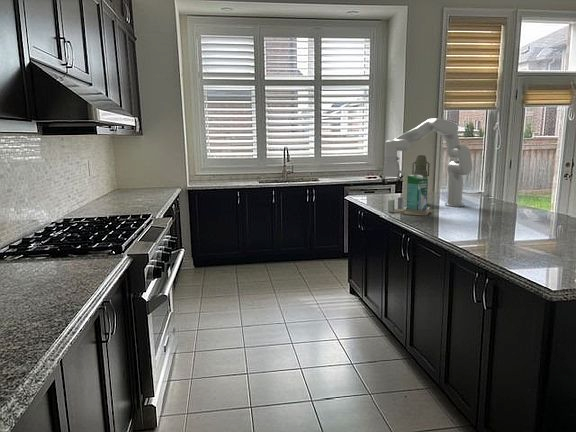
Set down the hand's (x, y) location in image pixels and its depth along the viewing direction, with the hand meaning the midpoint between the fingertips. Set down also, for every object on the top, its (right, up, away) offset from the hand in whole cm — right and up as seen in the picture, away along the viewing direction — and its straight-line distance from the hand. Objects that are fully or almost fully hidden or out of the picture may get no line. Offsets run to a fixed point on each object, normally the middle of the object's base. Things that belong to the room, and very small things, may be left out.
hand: (391, 185), depth 290 cm
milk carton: (+15, -19, -4) cm, 25 cm away
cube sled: (+14, -16, +9) cm, 23 cm away
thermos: (+29, -11, +32) cm, 44 cm away
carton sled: (+11, -18, -2) cm, 21 cm away
